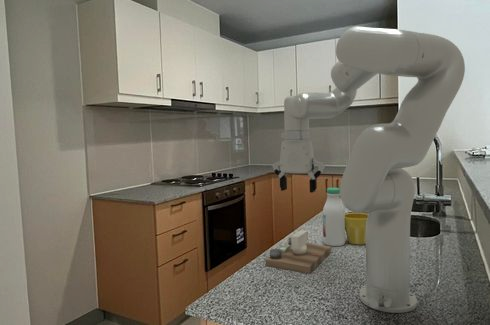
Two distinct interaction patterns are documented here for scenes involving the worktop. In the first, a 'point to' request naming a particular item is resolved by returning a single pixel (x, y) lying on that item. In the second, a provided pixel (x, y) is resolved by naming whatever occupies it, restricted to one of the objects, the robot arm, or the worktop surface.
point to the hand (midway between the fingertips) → (297, 190)
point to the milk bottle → (333, 219)
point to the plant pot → (356, 227)
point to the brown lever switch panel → (298, 258)
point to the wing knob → (299, 242)
